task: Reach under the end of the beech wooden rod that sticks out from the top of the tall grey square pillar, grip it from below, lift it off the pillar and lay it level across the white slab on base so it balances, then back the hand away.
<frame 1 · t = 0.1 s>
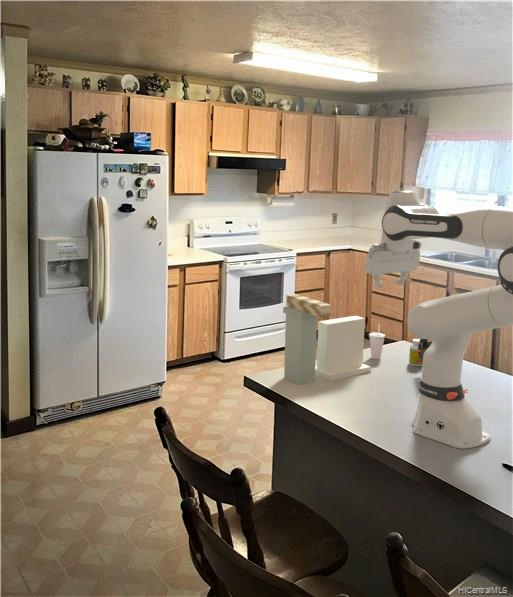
hand: (389, 285, 201), 39 cm above the counter, tool pointing down, fingers open, 8 cm apart
white slab on base: (339, 371, 239), on the counter
tall grey square pillar: (299, 379, 230), on the counter
teapot: (437, 382, 229), on the counter
supplement bottle: (415, 364, 250), on the counter
smoothie: (375, 358, 257), on the counter
rod: (307, 310, 222), point 26 cm above the counter, touching tall grey square pillar
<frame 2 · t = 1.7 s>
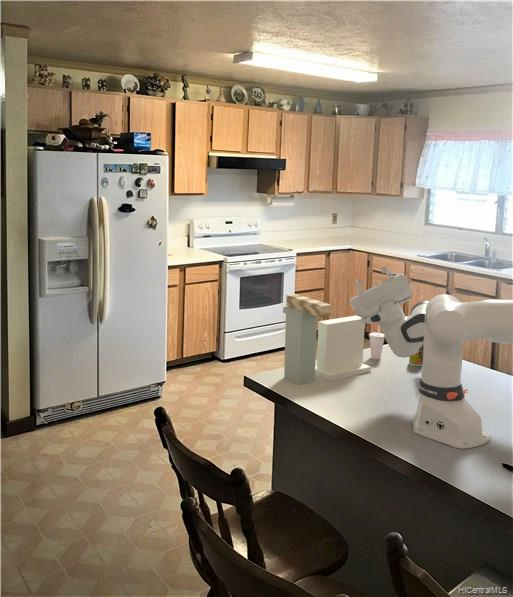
hand: (370, 273, 208), 41 cm above the counter, tool pointing upward, fingers open, 8 cm apart
nothing on the counter moved.
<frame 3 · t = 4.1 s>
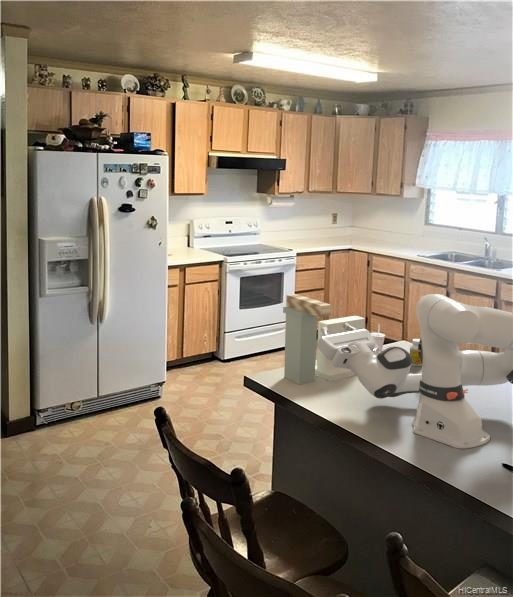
hand: (333, 326, 211), 24 cm above the counter, tool pointing upward, fingers open, 8 cm apart
nothing on the counter moved.
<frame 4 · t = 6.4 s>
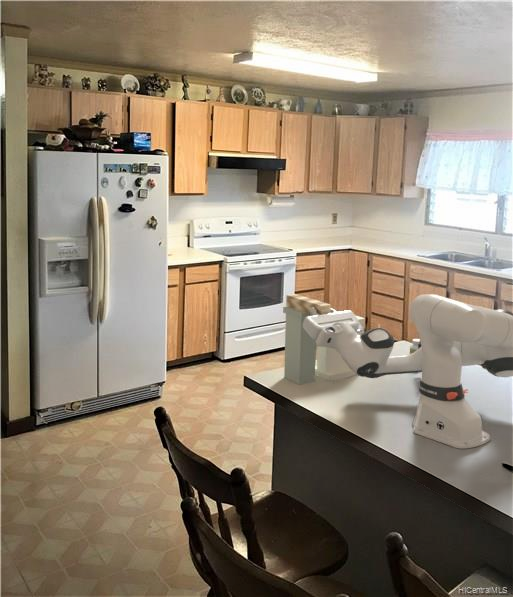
hand: (319, 307, 216), 28 cm above the counter, tool pointing upward, fingers closed on rod, 4 cm apart
rod: (307, 310, 222), point 26 cm above the counter, touching gripper, tall grey square pillar
everything else where it was.
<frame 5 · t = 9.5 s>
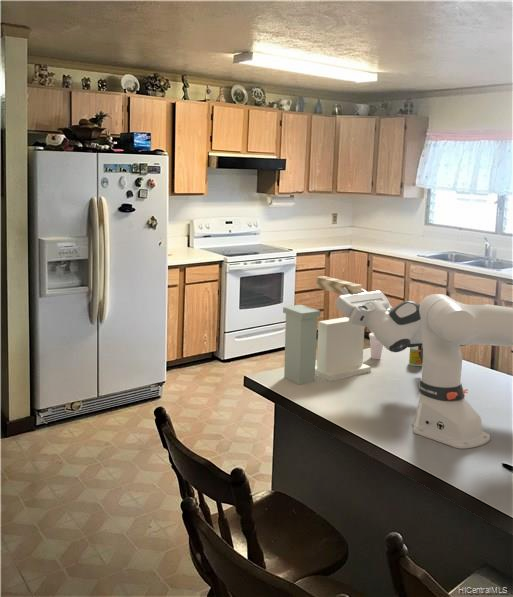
hand: (350, 288, 225), 33 cm above the counter, tool pointing upward, fingers closed on rod, 4 cm apart
rod: (338, 291, 230), point 31 cm above the counter, touching gripper
everything else where it was.
when the fingers open (23 cm above the counter, at t = 12.9 s): rod stays where it is, resting on white slab on base.
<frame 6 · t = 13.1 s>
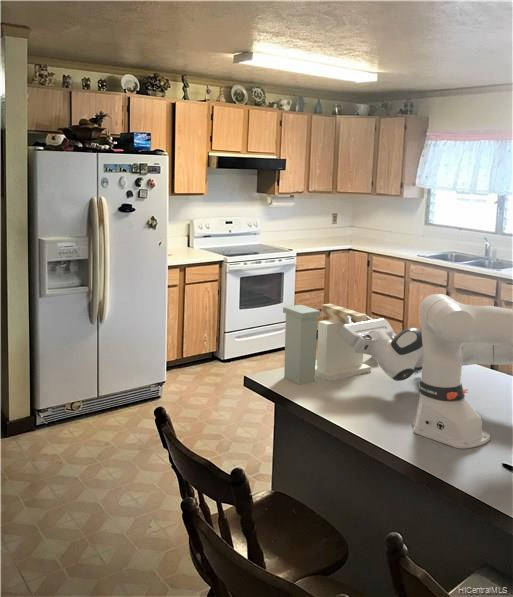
hand: (354, 315, 229), 23 cm above the counter, tool pointing upward, fingers open, 6 cm apart
rod: (342, 320, 234), point 20 cm above the counter, touching white slab on base
everything else where it was.
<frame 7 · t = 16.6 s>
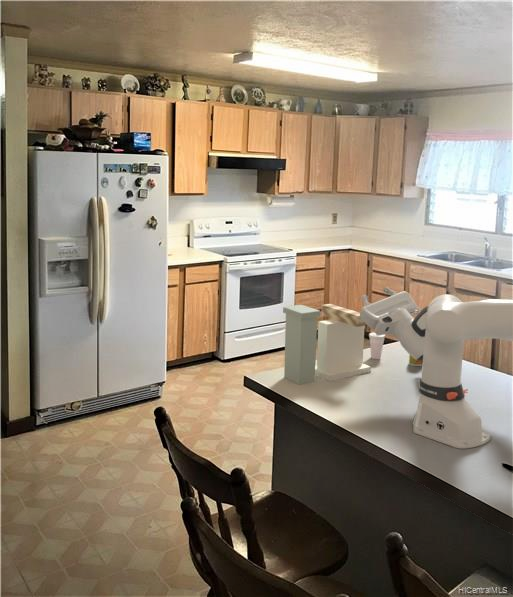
hand: (374, 292, 221), 33 cm above the counter, tool pointing upward, fingers open, 8 cm apart
nothing on the counter moved.
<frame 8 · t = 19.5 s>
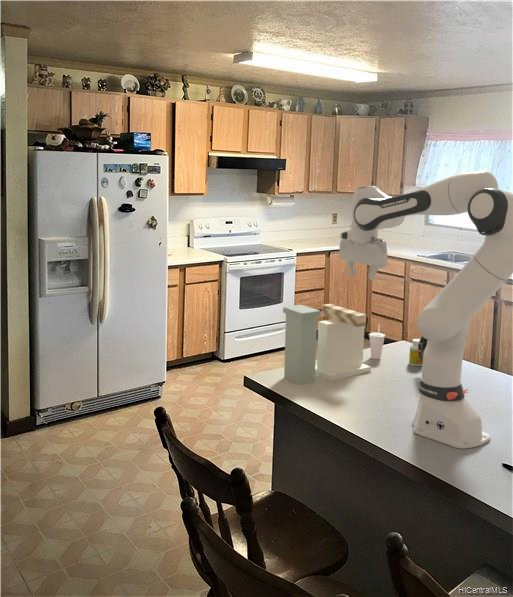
hand: (361, 276, 214), 39 cm above the counter, tool pointing down, fingers open, 8 cm apart
nothing on the counter moved.
at the end: rod 0.5 cm off-centre on the white slab on base, point 20.0 cm above the white slab on base's base; rod tilted 0°; the gripper is holding nothing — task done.
